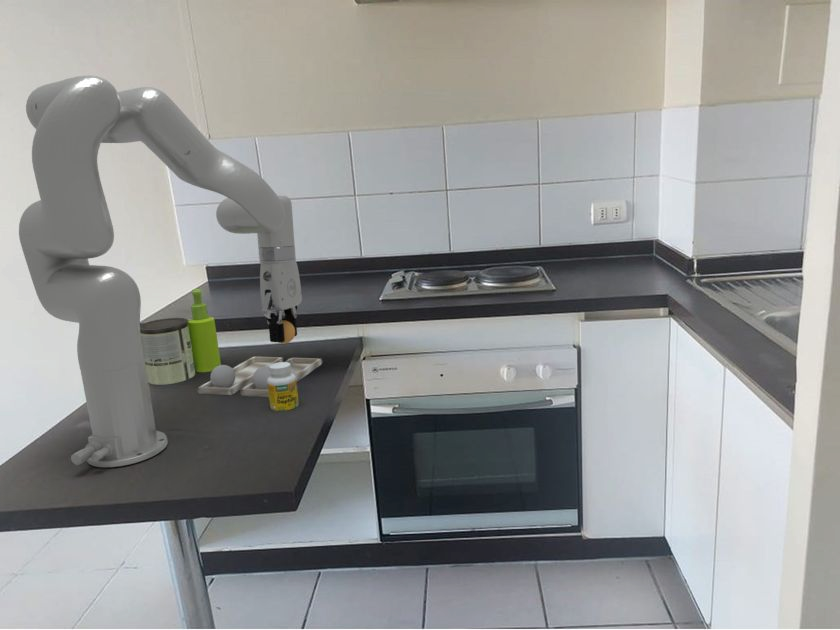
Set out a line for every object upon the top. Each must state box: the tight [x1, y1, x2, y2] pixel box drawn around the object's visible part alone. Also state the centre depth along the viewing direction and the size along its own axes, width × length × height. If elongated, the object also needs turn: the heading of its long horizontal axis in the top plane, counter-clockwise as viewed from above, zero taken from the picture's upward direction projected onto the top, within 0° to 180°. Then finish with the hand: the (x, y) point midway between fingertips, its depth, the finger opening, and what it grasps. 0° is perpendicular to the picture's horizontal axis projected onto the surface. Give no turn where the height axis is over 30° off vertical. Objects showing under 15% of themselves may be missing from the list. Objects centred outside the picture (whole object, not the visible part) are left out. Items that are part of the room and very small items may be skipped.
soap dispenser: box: [188, 288, 222, 373], centre depth 143 cm, size 6×7×20 cm
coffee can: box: [140, 317, 196, 385], centre depth 138 cm, size 10×10×14 cm
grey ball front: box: [253, 366, 271, 390], centre depth 126 cm, size 5×5×5 cm
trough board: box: [197, 356, 323, 398], centre depth 135 cm, size 24×19×3 cm
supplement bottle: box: [267, 361, 300, 412], centre depth 117 cm, size 5×5×10 cm
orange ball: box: [277, 321, 296, 345], centre depth 134 cm, size 5×5×5 cm
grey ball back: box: [210, 364, 235, 388], centre depth 129 cm, size 5×5×5 cm
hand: (283, 338), depth 134 cm, fingers closed on orange ball, 4 cm apart
